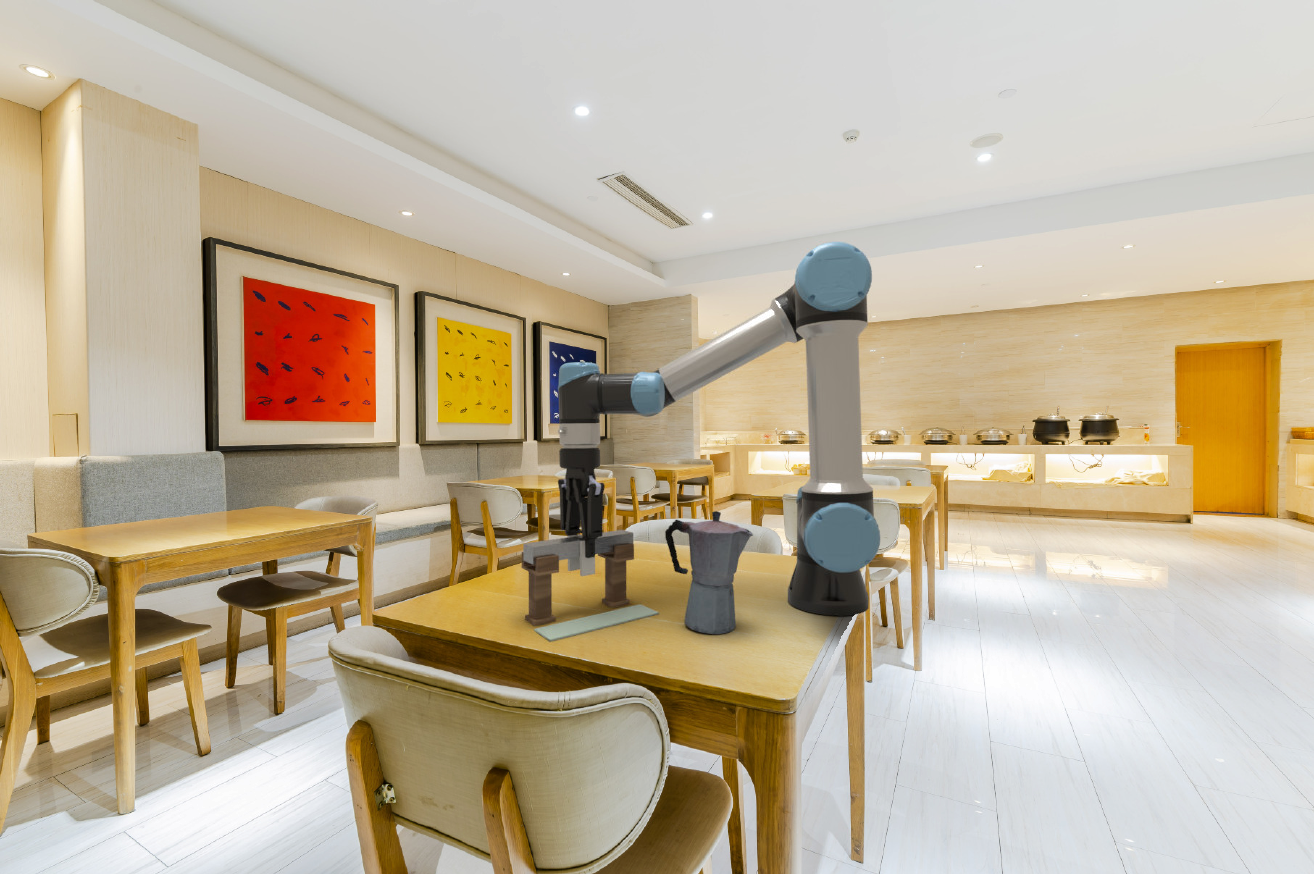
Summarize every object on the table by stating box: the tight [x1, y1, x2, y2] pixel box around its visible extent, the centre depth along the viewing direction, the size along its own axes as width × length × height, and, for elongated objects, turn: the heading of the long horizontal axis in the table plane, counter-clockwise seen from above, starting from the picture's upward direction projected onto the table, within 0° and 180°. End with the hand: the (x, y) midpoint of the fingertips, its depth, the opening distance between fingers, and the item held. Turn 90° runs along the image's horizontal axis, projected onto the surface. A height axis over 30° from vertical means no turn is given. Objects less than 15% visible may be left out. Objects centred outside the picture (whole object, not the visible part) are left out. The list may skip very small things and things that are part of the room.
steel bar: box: [522, 529, 634, 565], centre depth 103 cm, size 4×21×3 cm, turn 127°
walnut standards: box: [521, 543, 635, 627], centre depth 103 cm, size 7×20×12 cm, turn 127°
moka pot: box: [664, 510, 754, 635], centre depth 96 cm, size 10×15×20 cm, turn 78°
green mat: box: [533, 603, 660, 642], centre depth 98 cm, size 6×22×1 cm, turn 127°
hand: (581, 571), depth 103 cm, fingers closed on steel bar, 4 cm apart
